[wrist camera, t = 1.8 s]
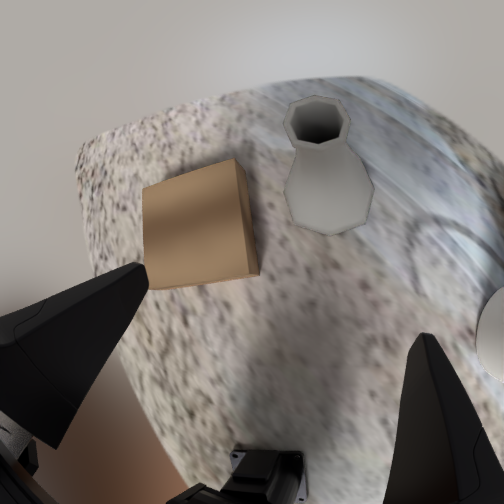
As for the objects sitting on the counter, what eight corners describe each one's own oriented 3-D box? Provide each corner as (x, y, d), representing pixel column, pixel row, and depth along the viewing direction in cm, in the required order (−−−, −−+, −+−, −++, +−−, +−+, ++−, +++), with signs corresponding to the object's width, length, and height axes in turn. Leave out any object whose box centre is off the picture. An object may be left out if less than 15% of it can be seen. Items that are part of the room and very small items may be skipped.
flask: (284, 153, 23) (245, 76, 13) (369, 150, 20) (377, 66, 11) (283, 237, 22) (237, 196, 12) (377, 236, 20) (404, 191, 10)
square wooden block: (261, 275, 22) (249, 273, 19) (167, 290, 25) (146, 289, 22) (246, 172, 24) (234, 158, 21) (160, 198, 26) (142, 188, 24)
